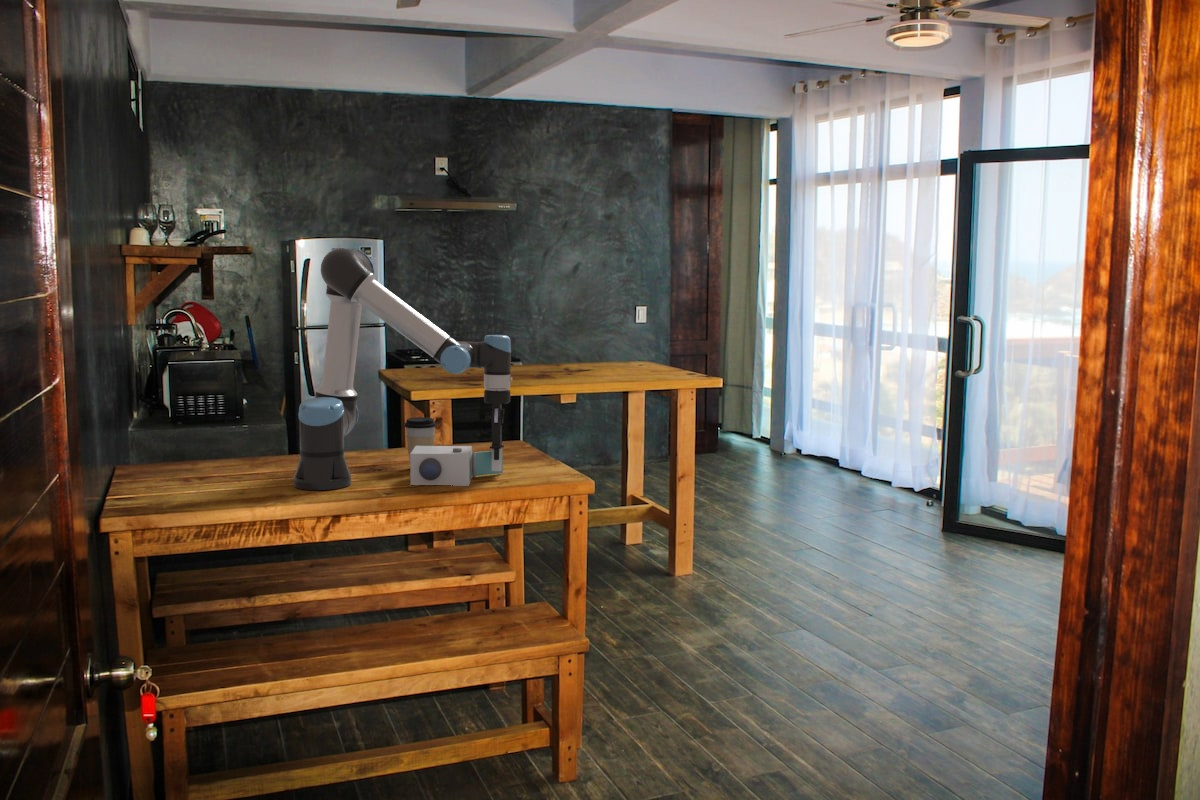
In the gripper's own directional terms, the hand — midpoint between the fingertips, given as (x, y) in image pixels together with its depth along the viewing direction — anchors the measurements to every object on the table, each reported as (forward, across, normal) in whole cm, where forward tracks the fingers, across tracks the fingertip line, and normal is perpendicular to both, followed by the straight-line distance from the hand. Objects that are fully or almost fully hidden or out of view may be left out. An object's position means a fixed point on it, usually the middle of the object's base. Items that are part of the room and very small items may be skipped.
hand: (496, 470), depth 284 cm
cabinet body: (+2, -6, +15) cm, 16 cm away
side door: (+2, +2, +3) cm, 4 cm away
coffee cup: (+2, +11, +23) cm, 26 cm away
